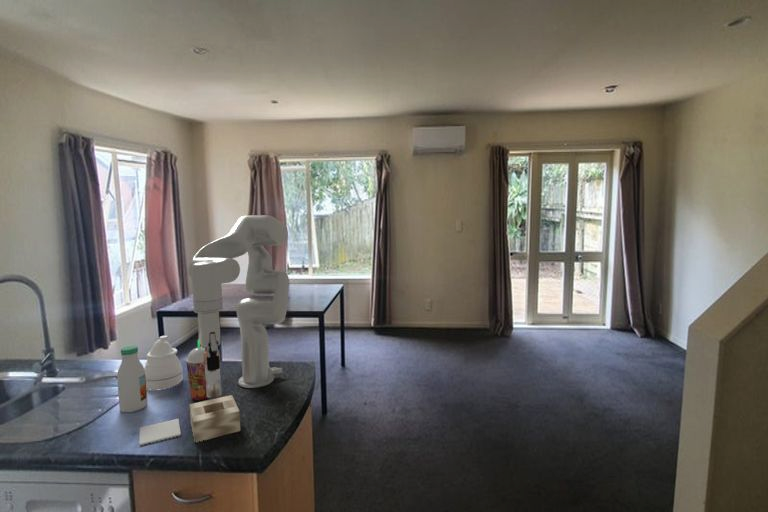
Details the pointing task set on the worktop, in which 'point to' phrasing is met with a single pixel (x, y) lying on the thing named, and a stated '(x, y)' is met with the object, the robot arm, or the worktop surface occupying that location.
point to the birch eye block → (214, 418)
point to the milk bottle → (131, 381)
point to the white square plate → (159, 431)
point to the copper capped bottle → (212, 379)
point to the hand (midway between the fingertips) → (212, 365)
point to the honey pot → (162, 366)
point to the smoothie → (197, 373)
